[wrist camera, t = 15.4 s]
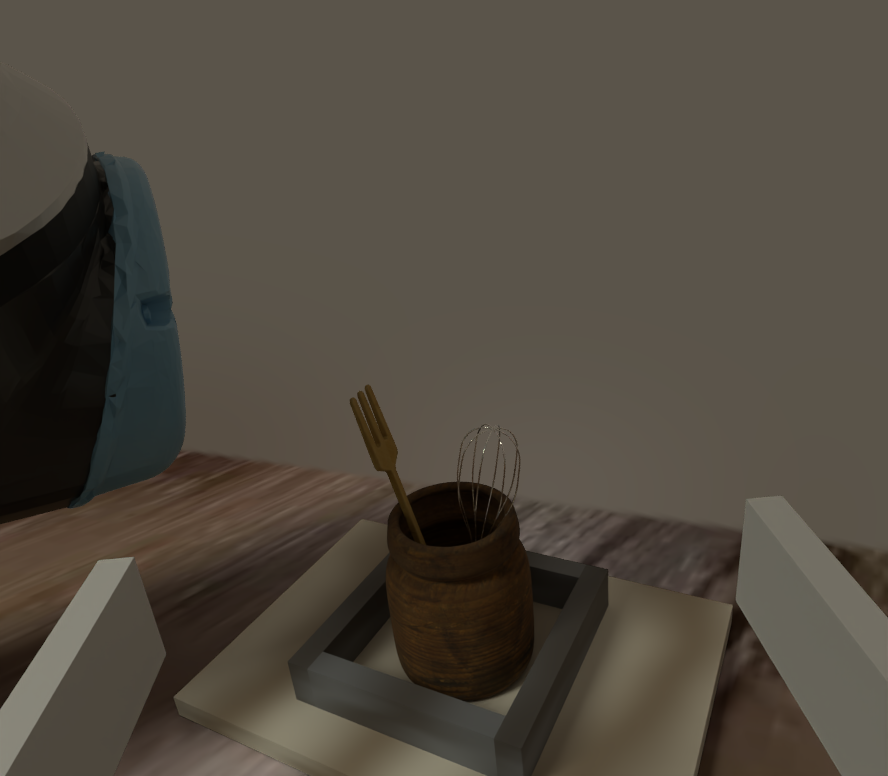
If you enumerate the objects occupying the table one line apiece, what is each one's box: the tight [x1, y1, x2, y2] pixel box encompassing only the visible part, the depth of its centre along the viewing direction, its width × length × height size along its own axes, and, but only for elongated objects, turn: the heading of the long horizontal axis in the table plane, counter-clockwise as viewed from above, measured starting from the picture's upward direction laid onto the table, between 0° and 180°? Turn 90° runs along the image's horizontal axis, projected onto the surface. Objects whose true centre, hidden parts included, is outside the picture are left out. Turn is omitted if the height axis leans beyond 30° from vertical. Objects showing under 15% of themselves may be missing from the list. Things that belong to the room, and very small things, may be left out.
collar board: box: [173, 519, 733, 776], centre depth 30 cm, size 20×14×3 cm
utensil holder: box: [350, 385, 534, 701], centre depth 28 cm, size 6×6×12 cm
